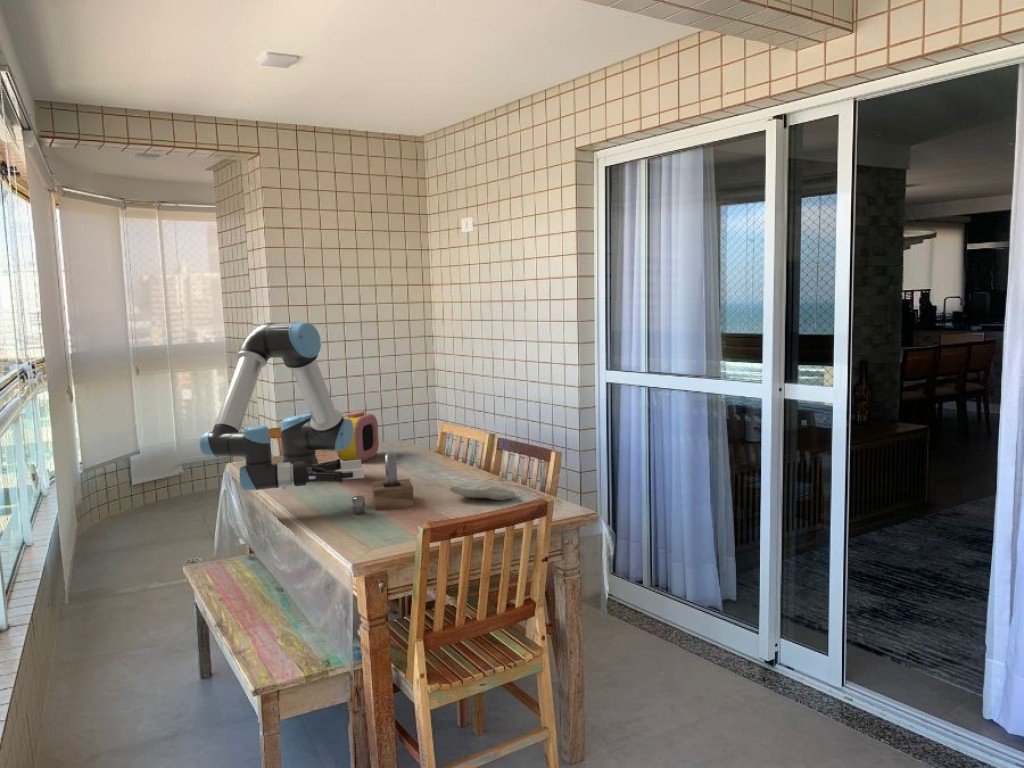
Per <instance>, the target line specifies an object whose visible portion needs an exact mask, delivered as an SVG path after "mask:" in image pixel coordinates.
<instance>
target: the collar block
mask: <svg viewBox="0 0 1024 768" xmlns="http://www.w3.org/2000/svg"><path fill="white" fill-rule="evenodd" d="M397 482H398V486H396V487H386V480H380V481H379V480H378V481H372V482H371V488H372V489H371V491H372V503H373V506H374V510H375V511H378V509H379V510H389V509H398V508H407V507H408V508H409V507H414V506H415V503H414V499H415V498H414V487H413V485H412V482H411V481H410V478H403V479H397Z"/></svg>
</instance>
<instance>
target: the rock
mask: <svg viewBox="0 0 1024 768" xmlns="http://www.w3.org/2000/svg"><path fill="white" fill-rule="evenodd" d="M449 490H450V491H451V492H452V493H453V494H455V495H456V494H457V495H461V496H464V497H466V498H469V499H490V500H493V499H494V501H499V500H502V499H507V498H508V499H507V500H511V499H513V498H515V497H516V493H515V491H514V490H512V489H509V488H507V487H504V486H501V485H499V484H497V483H494V482H491V481H489V480H487V479H478V480H471V481H461V482H459V483H456V484H453V485H452V486H451V487H450V488H449Z"/></svg>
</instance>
